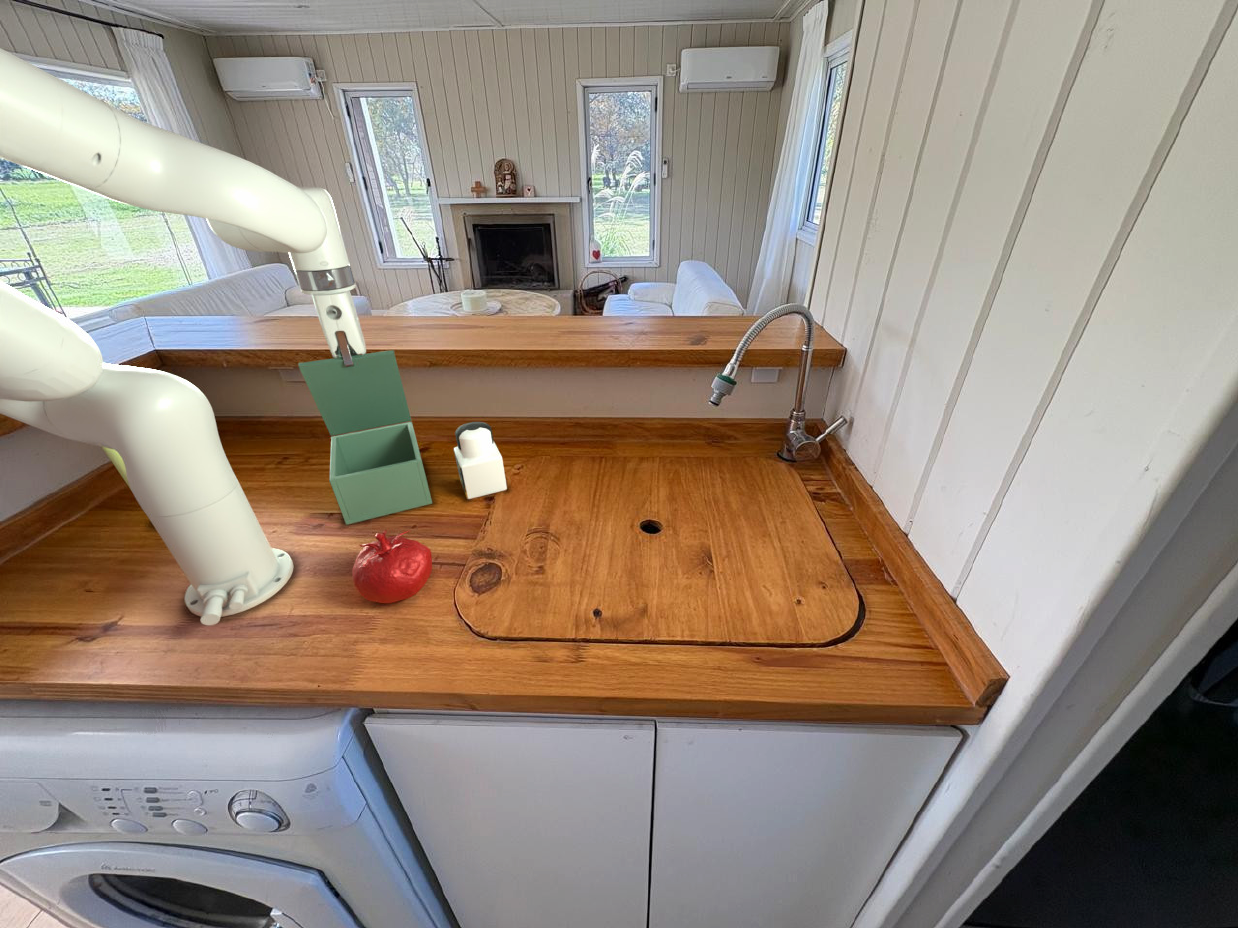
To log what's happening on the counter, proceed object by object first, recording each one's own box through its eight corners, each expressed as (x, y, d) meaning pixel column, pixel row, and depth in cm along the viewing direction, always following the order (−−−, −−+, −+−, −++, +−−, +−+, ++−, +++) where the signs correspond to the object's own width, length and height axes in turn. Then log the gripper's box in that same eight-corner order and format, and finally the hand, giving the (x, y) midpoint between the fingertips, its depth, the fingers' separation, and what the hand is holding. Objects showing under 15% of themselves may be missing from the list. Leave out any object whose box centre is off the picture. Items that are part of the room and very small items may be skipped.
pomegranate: (424, 612, 65) (408, 560, 60) (348, 614, 65) (325, 561, 60) (445, 560, 74) (432, 510, 69) (378, 561, 74) (360, 511, 69)
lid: (394, 353, 80) (393, 349, 80) (298, 366, 75) (298, 363, 76) (411, 420, 93) (410, 417, 93) (330, 436, 88) (330, 432, 88)
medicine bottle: (460, 480, 92) (447, 422, 86) (498, 471, 95) (489, 414, 88) (467, 500, 87) (454, 440, 80) (507, 490, 89) (498, 431, 83)
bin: (432, 503, 86) (421, 460, 81) (346, 525, 81) (329, 480, 76) (421, 461, 98) (411, 421, 93) (345, 477, 93) (331, 436, 88)
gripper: (354, 286, 71) (386, 403, 81) (352, 269, 83) (380, 373, 92) (294, 292, 69) (335, 412, 78) (301, 273, 80) (335, 380, 90)
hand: (359, 390), depth 85 cm, fingers closed
